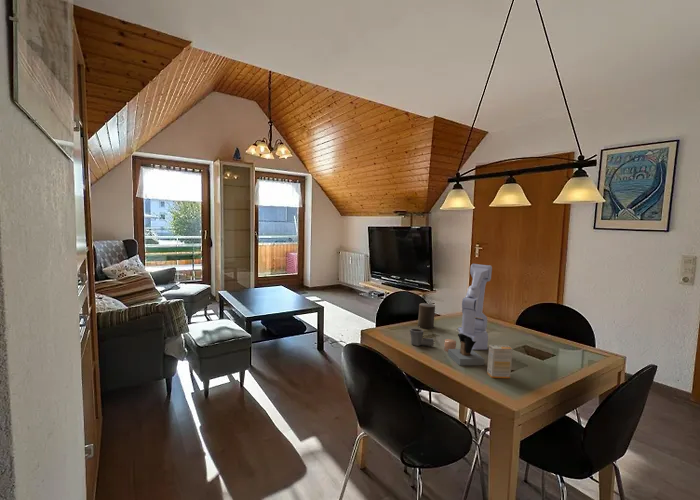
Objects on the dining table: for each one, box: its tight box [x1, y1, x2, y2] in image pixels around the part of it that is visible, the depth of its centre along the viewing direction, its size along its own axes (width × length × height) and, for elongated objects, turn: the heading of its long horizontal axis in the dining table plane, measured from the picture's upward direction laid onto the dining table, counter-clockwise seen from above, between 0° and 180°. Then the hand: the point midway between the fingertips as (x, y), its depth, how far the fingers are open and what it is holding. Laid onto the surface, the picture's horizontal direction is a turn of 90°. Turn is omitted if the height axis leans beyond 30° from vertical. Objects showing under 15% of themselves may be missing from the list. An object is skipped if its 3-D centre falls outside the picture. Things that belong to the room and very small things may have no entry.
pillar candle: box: [417, 302, 436, 330], centre depth 209 cm, size 10×10×15 cm
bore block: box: [447, 348, 485, 367], centre depth 160 cm, size 12×12×3 cm
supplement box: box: [486, 344, 514, 379], centre depth 144 cm, size 8×5×13 cm, turn 92°
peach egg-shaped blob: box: [443, 338, 457, 353], centre depth 171 cm, size 6×6×5 cm
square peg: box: [459, 341, 470, 356], centre depth 159 cm, size 3×3×6 cm
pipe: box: [409, 327, 435, 347], centre depth 176 cm, size 6×13×8 cm, turn 78°
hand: (466, 350), depth 159 cm, fingers closed on square peg, 3 cm apart
